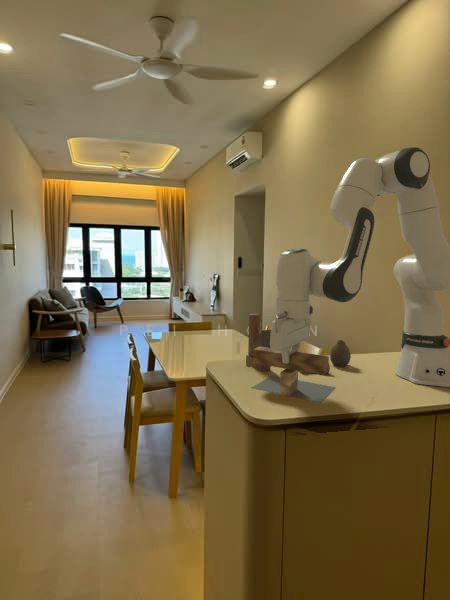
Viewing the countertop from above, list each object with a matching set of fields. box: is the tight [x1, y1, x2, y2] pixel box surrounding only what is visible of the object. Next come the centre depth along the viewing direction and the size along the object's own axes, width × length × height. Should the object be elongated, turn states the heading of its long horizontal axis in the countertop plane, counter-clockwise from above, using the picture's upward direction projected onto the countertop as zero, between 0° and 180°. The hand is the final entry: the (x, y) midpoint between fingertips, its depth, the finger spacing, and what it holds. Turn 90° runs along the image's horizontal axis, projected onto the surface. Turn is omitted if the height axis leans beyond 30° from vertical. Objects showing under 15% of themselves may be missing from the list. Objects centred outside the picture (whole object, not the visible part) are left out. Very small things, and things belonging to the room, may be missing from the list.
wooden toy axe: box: [245, 313, 271, 372], centre depth 131 cm, size 4×11×18 cm, turn 25°
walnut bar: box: [253, 346, 330, 376], centre depth 107 cm, size 20×4×4 cm, turn 60°
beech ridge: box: [279, 368, 299, 397], centre depth 108 cm, size 3×6×6 cm, turn 149°
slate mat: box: [251, 375, 337, 404], centre depth 112 cm, size 20×14×1 cm
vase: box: [329, 339, 352, 368], centre depth 138 cm, size 7×7×9 cm
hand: (290, 360), depth 107 cm, fingers closed on walnut bar, 4 cm apart
